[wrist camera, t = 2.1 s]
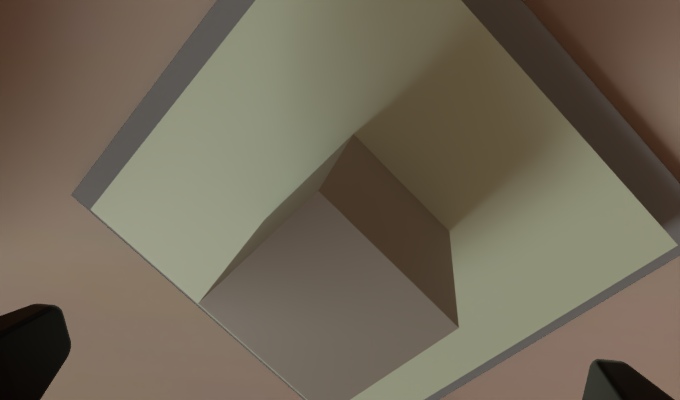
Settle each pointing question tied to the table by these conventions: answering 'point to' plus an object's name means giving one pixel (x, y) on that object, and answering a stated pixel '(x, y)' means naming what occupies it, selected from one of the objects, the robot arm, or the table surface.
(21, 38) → the table surface
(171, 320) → the table surface
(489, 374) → the table surface
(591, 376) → the robot arm
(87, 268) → the table surface
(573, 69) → the mat
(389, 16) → the lid
